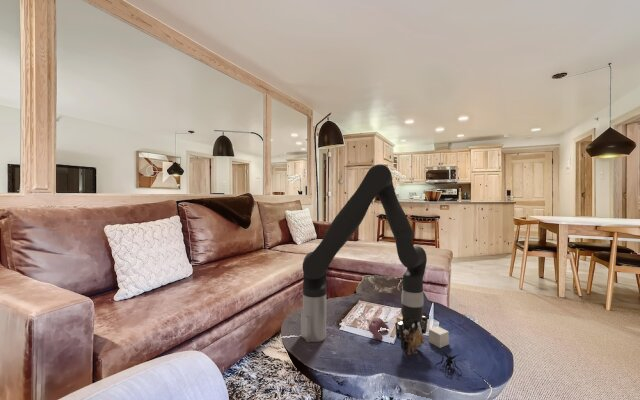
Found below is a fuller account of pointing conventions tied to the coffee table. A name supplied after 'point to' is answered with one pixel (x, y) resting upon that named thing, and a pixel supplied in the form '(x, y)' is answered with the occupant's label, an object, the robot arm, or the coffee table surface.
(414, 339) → the lion figurine
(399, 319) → the birch block
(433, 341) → the beige block
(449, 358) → the creature
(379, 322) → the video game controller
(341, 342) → the coffee table surface
